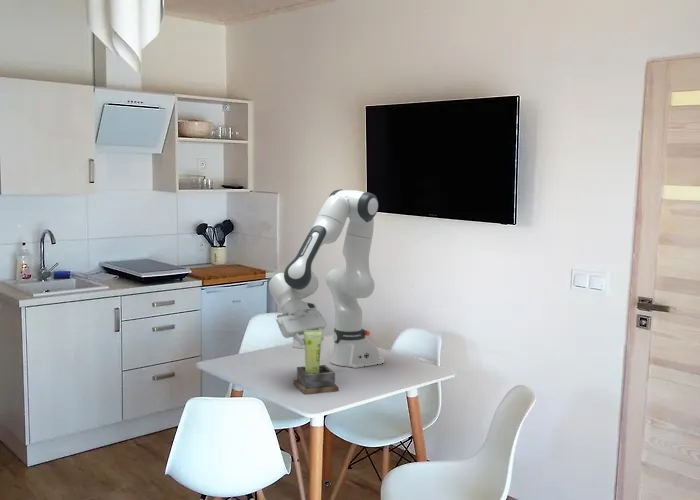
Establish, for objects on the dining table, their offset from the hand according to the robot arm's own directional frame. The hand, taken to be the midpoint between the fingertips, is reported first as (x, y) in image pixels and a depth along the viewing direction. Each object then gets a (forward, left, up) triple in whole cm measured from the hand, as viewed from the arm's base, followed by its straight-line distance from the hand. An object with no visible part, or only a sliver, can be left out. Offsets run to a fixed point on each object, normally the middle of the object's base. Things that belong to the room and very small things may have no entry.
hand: (312, 342), depth 249 cm
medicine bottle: (-15, -56, -17) cm, 60 cm away
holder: (-1, +2, -16) cm, 17 cm away
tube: (+1, +3, -15) cm, 15 cm away
